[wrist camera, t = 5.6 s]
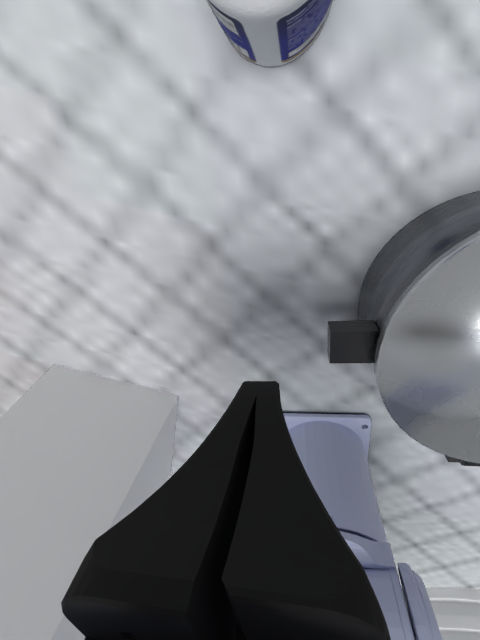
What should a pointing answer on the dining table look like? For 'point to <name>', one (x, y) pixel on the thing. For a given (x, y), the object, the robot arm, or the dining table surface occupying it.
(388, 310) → the cooking pot
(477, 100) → the dining table surface
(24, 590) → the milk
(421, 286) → the pot lid
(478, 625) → the plate stack
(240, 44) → the pill bottle
